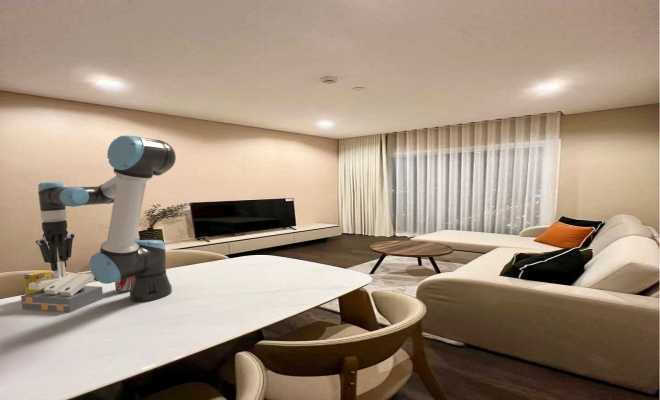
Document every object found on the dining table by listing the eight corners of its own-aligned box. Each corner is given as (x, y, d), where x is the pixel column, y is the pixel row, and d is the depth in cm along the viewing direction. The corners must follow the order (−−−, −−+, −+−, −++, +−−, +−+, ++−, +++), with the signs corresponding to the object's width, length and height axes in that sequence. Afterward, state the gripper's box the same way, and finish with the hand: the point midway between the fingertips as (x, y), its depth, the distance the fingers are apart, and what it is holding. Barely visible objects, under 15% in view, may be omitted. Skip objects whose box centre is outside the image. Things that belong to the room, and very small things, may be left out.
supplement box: (37, 302, 120) (35, 275, 120) (25, 301, 121) (23, 274, 121) (53, 296, 126) (51, 271, 125) (42, 295, 127) (40, 270, 127)
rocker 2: (80, 278, 122) (78, 273, 121) (55, 294, 113) (53, 289, 112) (70, 277, 123) (68, 273, 122) (45, 293, 114) (43, 289, 113)
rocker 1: (66, 282, 123) (66, 277, 123) (38, 289, 113) (38, 283, 113) (56, 281, 124) (56, 276, 124) (28, 289, 114) (28, 283, 114)
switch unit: (102, 298, 122) (101, 283, 122) (69, 312, 109) (68, 295, 109) (58, 296, 126) (57, 281, 126) (21, 309, 113) (20, 292, 113)
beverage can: (111, 292, 130) (109, 264, 129) (129, 286, 137) (127, 260, 137) (124, 294, 127) (122, 266, 127) (141, 287, 135) (140, 261, 134)
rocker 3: (94, 277, 121) (92, 273, 120) (71, 296, 112) (69, 291, 111) (84, 277, 121) (82, 273, 120) (61, 295, 113) (58, 291, 112)
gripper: (64, 217, 129) (70, 271, 131) (26, 223, 115) (32, 282, 117) (79, 218, 127) (84, 272, 129) (42, 223, 114) (48, 283, 116)
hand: (59, 277), depth 123 cm, fingers closed
